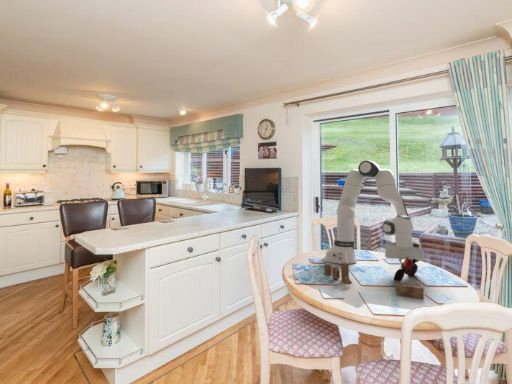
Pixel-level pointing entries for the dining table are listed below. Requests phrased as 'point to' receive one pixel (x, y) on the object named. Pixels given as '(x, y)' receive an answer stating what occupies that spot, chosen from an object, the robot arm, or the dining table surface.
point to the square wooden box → (409, 290)
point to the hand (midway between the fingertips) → (403, 266)
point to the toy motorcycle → (406, 269)
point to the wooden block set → (338, 272)
